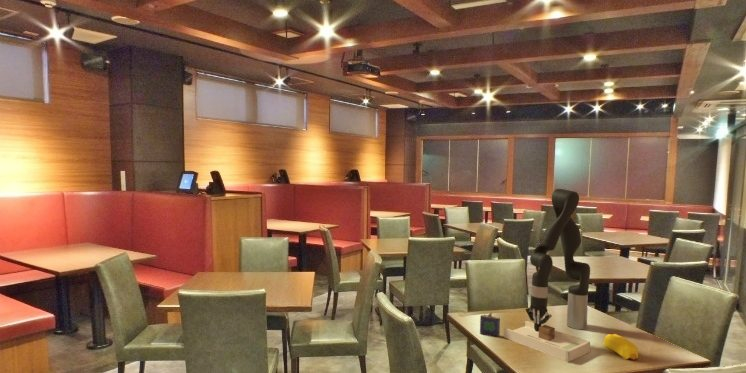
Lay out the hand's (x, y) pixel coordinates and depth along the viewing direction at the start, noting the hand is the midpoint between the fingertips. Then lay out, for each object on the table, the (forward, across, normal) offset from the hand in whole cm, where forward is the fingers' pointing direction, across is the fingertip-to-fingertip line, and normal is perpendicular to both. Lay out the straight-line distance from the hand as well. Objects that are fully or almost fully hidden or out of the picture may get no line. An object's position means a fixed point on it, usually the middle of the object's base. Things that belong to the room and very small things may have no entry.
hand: (537, 331), depth 209 cm
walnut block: (+2, -5, 0) cm, 5 cm away
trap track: (+4, -6, +3) cm, 8 cm away
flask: (+4, +16, +15) cm, 22 cm away
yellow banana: (+4, -30, -18) cm, 35 cm away
